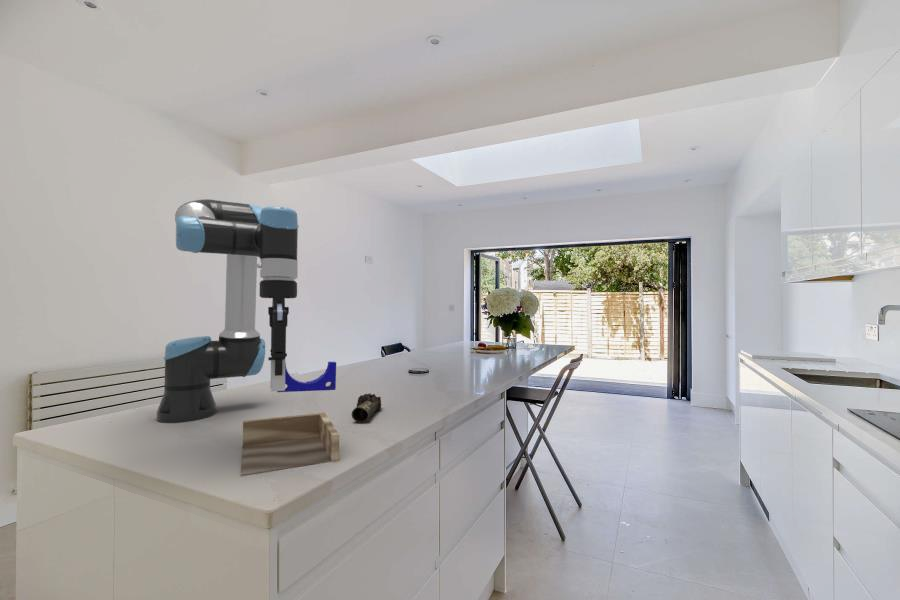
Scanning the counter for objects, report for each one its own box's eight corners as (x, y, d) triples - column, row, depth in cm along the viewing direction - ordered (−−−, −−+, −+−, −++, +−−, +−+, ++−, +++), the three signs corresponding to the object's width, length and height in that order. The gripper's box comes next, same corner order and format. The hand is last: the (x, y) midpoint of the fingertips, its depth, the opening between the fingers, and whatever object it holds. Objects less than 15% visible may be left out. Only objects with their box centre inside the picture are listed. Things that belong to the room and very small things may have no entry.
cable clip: (333, 387, 98) (334, 361, 98) (335, 389, 94) (336, 362, 94) (277, 389, 94) (278, 362, 94) (276, 392, 89) (278, 363, 90)
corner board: (242, 446, 99) (243, 420, 99) (324, 436, 107) (324, 412, 107) (240, 477, 81) (241, 446, 81) (339, 463, 89) (339, 434, 89)
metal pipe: (368, 423, 116) (369, 403, 116) (344, 422, 116) (345, 401, 117) (383, 410, 133) (384, 392, 134) (362, 409, 134) (363, 391, 134)
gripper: (259, 281, 97) (258, 384, 97) (259, 276, 82) (258, 398, 82) (294, 282, 100) (293, 381, 100) (300, 278, 85) (299, 394, 85)
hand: (277, 388), depth 91 cm, fingers closed on cable clip, 3 cm apart
